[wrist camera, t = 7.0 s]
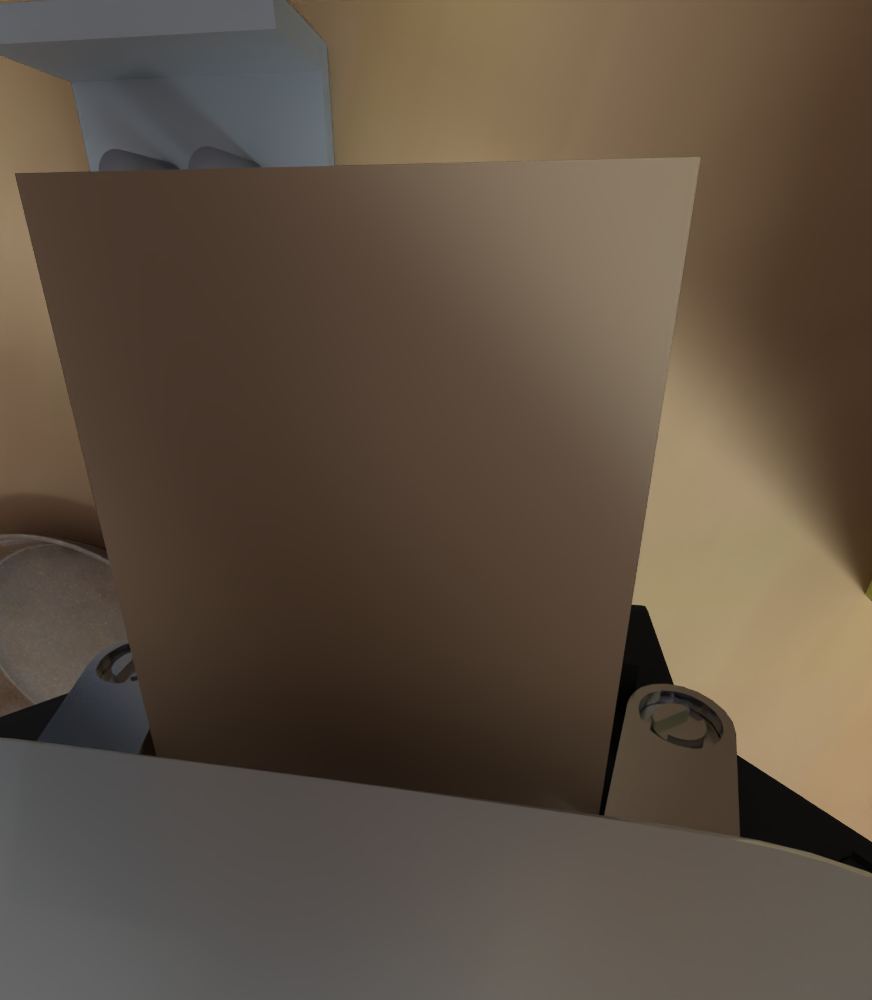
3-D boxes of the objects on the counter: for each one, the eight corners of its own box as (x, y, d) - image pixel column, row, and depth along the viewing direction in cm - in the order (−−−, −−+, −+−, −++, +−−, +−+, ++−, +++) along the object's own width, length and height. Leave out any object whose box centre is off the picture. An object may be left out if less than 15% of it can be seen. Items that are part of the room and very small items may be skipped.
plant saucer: (7, 450, 30) (-45, 470, 27) (287, 630, 32) (264, 665, 30) (-63, 652, 37) (-110, 684, 34) (170, 787, 39) (143, 828, 37)
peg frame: (326, 43, 21) (272, -15, 16) (355, 494, 28) (323, 541, 23) (79, 56, 22) (-37, 5, 17) (168, 484, 29) (102, 526, 25)
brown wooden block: (584, 234, 11) (701, 157, 4) (535, 770, 16) (541, 1181, 9) (337, 235, 12) (14, 174, 4) (367, 749, 17) (243, 1116, 10)
